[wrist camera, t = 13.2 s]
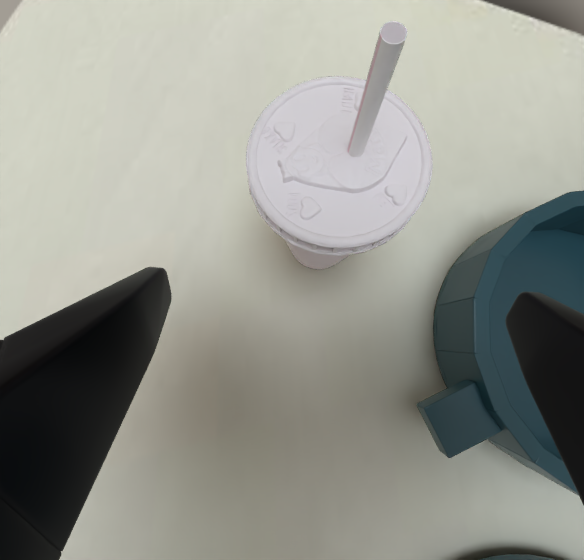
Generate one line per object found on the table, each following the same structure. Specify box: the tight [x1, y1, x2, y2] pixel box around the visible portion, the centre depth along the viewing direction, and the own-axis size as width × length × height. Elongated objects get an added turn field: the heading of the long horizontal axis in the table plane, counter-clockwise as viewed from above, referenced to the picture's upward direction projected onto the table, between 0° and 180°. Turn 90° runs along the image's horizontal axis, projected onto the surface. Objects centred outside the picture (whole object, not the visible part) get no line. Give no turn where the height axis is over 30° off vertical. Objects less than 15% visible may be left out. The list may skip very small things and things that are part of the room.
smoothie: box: [246, 21, 432, 269], centre depth 14 cm, size 6×6×14 cm
